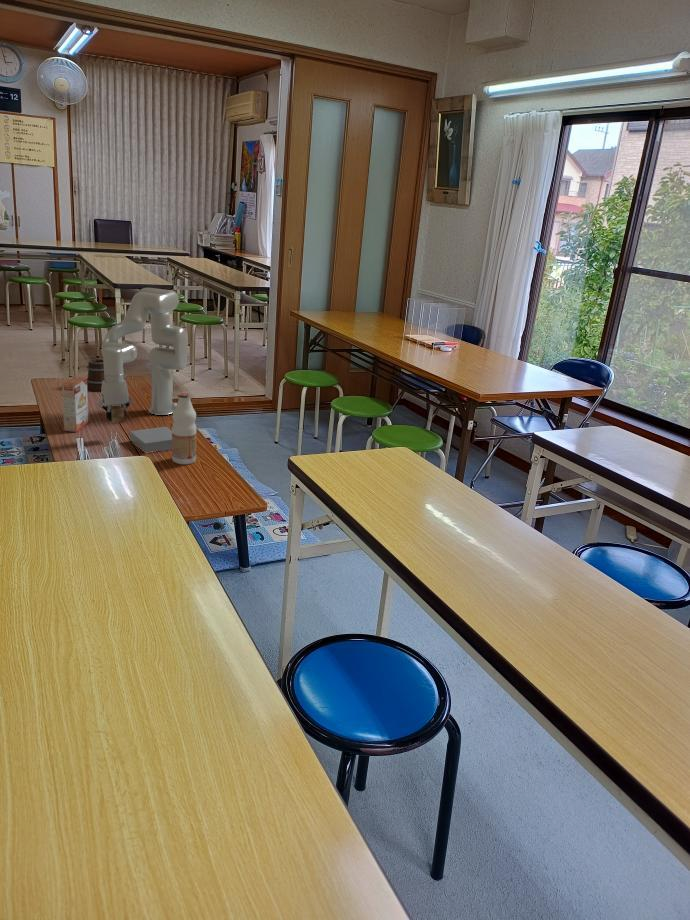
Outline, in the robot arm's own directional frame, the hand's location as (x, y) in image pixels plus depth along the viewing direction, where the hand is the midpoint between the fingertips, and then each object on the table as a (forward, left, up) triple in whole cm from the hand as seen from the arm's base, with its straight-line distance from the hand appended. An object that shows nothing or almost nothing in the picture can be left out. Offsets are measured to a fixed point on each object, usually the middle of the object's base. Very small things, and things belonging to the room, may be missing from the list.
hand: (116, 418), depth 283 cm
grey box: (-12, +11, -10) cm, 20 cm away
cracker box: (+10, -23, -10) cm, 26 cm away
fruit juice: (-15, +32, -10) cm, 37 cm away
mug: (-20, -76, -10) cm, 80 cm away
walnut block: (0, 0, -1) cm, 1 cm away
